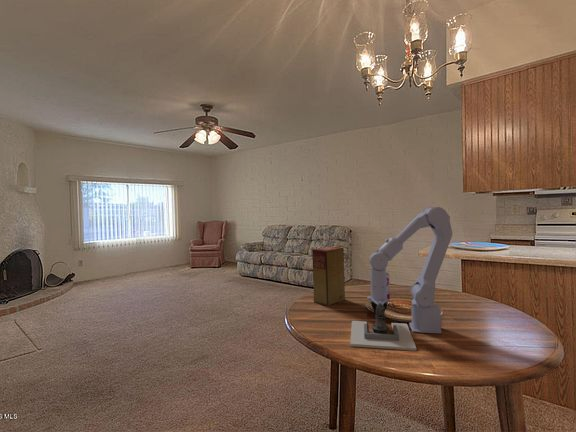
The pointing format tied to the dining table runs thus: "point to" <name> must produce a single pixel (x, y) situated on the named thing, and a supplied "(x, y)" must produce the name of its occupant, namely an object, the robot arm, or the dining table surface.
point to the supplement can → (388, 287)
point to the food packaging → (328, 275)
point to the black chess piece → (380, 321)
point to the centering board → (382, 337)
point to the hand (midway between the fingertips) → (379, 322)
